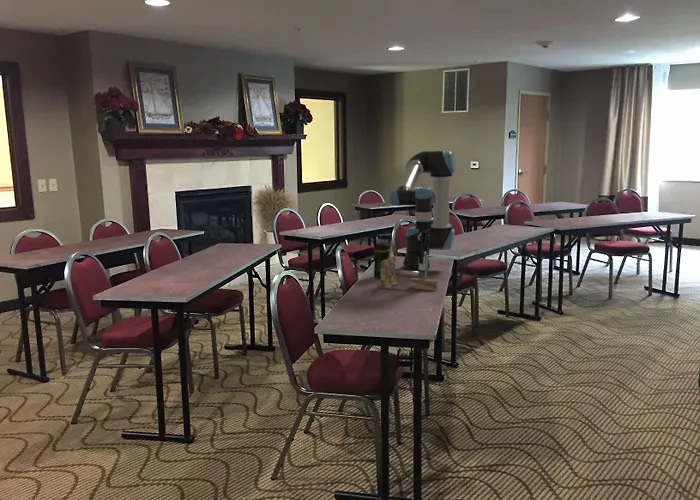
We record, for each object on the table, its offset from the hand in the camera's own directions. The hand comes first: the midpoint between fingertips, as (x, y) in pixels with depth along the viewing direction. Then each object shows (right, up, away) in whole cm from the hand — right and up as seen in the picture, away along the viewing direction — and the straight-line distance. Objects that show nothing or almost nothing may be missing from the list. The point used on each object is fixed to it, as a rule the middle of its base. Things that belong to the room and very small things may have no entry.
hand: (423, 269), depth 278 cm
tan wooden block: (-16, -8, +10) cm, 20 cm away
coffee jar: (-18, -5, +28) cm, 34 cm away
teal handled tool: (-6, -4, +4) cm, 9 cm away
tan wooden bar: (+1, -9, +2) cm, 10 cm away
